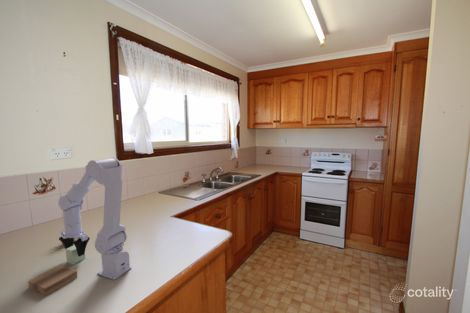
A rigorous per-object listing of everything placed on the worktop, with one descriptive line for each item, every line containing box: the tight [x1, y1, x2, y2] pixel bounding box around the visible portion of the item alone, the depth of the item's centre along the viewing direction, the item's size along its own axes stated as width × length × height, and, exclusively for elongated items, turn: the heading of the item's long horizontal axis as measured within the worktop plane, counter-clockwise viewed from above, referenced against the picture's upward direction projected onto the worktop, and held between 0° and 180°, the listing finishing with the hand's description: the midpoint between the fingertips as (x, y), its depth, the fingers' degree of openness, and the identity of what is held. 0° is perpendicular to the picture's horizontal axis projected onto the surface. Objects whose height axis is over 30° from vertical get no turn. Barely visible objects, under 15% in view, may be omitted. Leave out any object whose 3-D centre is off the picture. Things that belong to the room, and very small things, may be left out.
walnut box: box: [27, 264, 78, 297], centre depth 79 cm, size 10×10×3 cm
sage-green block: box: [65, 244, 86, 265], centre depth 92 cm, size 4×5×6 cm
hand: (75, 253), depth 92 cm, fingers open, 7 cm apart
